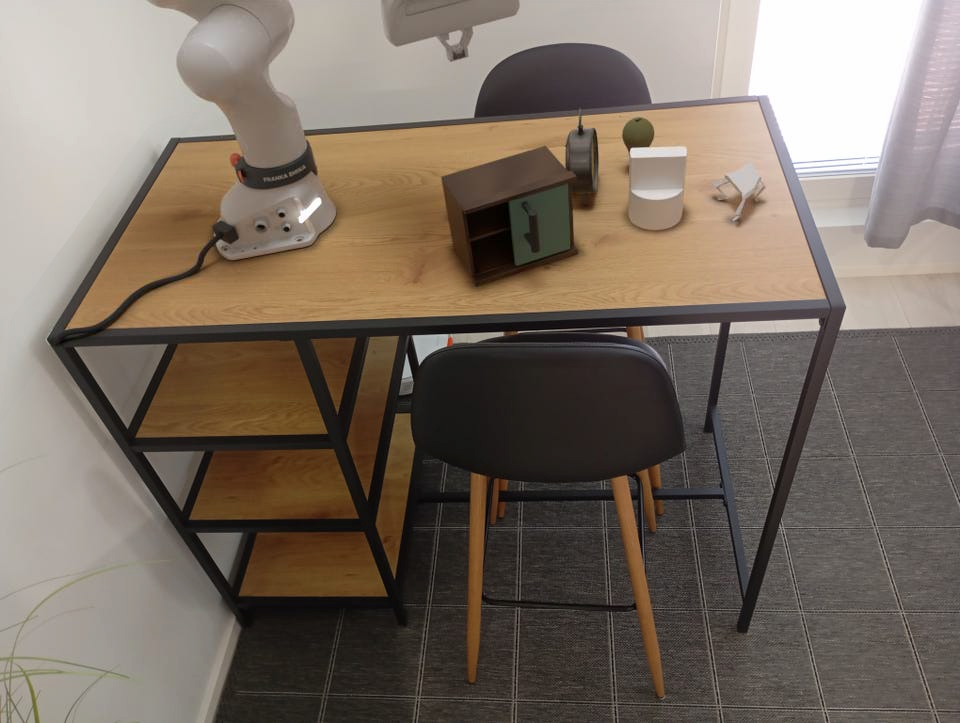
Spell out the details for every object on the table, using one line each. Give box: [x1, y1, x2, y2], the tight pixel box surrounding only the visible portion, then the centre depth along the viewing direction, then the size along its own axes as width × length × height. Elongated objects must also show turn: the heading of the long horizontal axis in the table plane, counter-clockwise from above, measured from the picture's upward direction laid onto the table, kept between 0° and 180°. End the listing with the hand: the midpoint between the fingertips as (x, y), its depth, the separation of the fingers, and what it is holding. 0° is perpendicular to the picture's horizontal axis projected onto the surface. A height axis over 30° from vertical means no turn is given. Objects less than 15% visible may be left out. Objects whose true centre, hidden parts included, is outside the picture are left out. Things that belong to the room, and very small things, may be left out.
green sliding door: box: [508, 184, 570, 266], centre depth 123 cm, size 10×5×12 cm, turn 110°
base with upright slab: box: [627, 145, 688, 231], centre depth 131 cm, size 9×9×12 cm
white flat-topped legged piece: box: [712, 161, 767, 222], centre depth 132 cm, size 12×8×5 cm
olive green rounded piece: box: [621, 116, 655, 157], centre depth 142 cm, size 6×6×10 cm
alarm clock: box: [564, 107, 600, 208], centre depth 136 cm, size 11×5×16 cm, turn 168°
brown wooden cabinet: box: [440, 145, 579, 287], centre depth 127 cm, size 18×12×15 cm, turn 110°
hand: (457, 58), depth 120 cm, fingers closed
